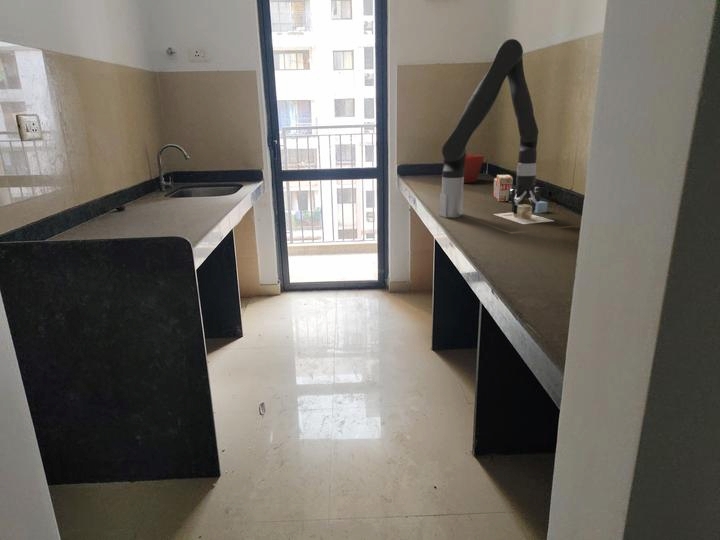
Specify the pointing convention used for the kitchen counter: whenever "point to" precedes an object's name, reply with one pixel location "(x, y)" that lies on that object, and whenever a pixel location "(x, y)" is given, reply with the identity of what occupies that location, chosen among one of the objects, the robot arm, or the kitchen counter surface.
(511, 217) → the letter mat
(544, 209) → the blue-grey cube
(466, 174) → the plant pot
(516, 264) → the kitchen counter surface
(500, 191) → the stack of blocks
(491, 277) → the kitchen counter surface
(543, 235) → the kitchen counter surface
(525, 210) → the beech block
